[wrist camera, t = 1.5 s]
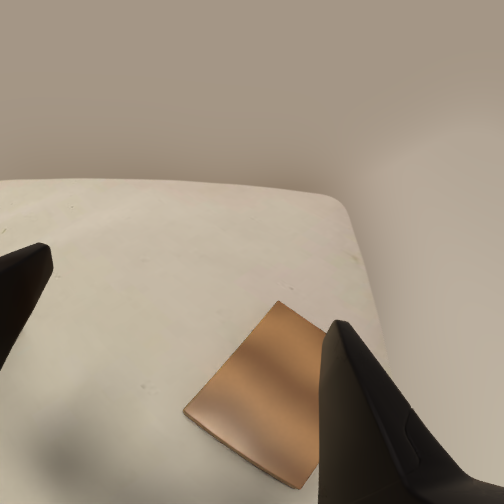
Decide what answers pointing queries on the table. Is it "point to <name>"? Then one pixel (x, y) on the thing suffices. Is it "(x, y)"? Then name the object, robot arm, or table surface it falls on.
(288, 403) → the trivet
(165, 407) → the table surface
